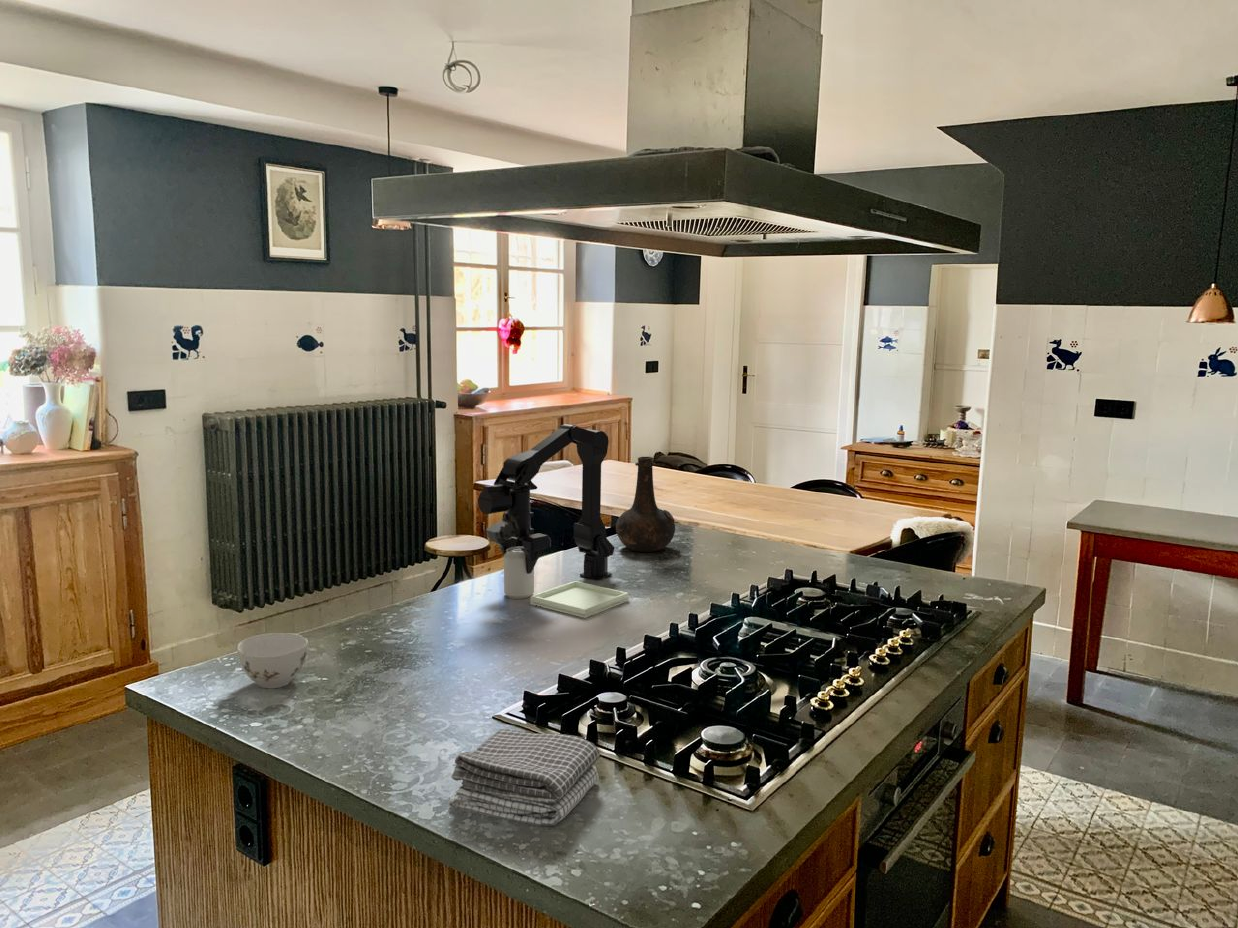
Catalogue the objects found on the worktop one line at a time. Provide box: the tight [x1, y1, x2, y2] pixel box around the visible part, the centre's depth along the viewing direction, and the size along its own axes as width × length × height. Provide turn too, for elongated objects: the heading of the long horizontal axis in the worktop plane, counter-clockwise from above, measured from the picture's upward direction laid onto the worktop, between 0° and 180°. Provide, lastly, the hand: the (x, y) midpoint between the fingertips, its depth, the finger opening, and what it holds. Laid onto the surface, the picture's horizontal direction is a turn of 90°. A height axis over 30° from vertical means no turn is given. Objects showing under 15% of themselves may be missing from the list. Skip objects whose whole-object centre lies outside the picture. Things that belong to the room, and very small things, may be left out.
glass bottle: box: [615, 456, 676, 553], centre depth 280 cm, size 18×18×28 cm
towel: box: [448, 728, 601, 827], centre depth 136 cm, size 15×18×8 cm
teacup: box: [237, 632, 309, 689], centre depth 177 cm, size 15×12×8 cm
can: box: [503, 546, 535, 600], centre depth 232 cm, size 8×8×12 cm
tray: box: [529, 580, 629, 619], centre depth 228 cm, size 17×17×2 cm
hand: (519, 570), depth 232 cm, fingers open, 8 cm apart
